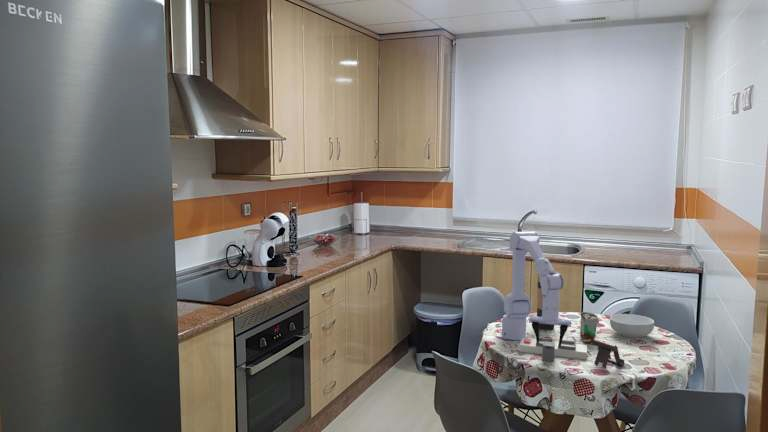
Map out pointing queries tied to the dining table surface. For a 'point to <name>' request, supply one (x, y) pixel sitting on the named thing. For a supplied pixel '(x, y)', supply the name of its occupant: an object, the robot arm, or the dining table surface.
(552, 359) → the block
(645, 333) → the cereal bowl
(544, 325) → the travel mug
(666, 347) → the dining table surface
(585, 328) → the food container
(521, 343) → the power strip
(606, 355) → the portable electronic device stand
